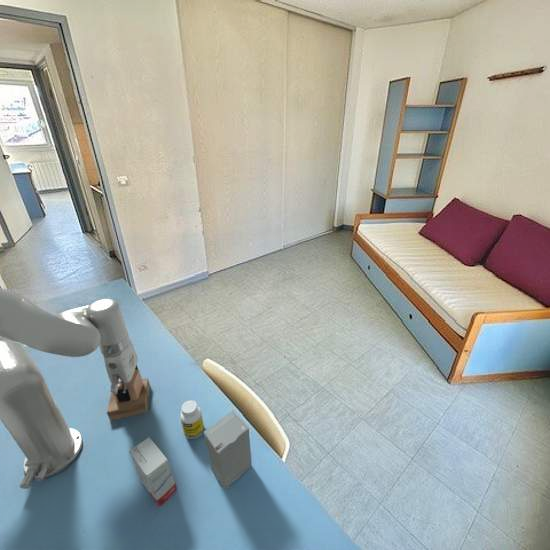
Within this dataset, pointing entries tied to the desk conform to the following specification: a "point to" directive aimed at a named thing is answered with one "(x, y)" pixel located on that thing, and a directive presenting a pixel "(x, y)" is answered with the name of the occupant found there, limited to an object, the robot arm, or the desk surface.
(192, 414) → the supplement bottle
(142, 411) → the walnut block
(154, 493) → the ink box
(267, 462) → the desk surface
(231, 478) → the skincare box
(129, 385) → the terracotta cube
